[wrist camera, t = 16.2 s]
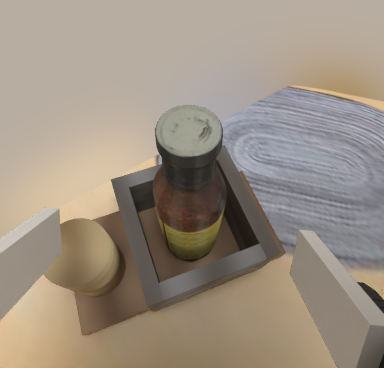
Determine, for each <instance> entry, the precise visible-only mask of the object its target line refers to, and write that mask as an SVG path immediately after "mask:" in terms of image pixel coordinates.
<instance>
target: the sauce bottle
mask: <svg viewBox="0 0 384 368" xmlns="http://www.w3.org/2000/svg"><path fill="white" fill-rule="evenodd" d="M155 136H156V145H157V149H158V152H159V154H160V155H161V157H162V164H163V165H162V166H161V167H160V169H159V170H158V171H157V172H156V175H155V177H154V180H153V183H152V184H153V195H154V200H155V209H156V213H157V216H158V220H159V223H160V227H161V231H162V234H163V238H164V241H165V244H166V246H167V248H169V251H170V252H171V253H172V254H173V255H174V256H175V257H177V258H179V259H182V260H185V261H195V260H198V259H201V258H203V257H205V256H206V255H208V254H209V252H210V251H211V250H212V248H213V247H214V245H215V243H216V240H217V236H218V232H219V228H220V224H221V220H222V216H223V212H224V208H225V203H226V197H227V191H226V185H225V182H224V179H223V177H222V175H221V173H220V171H219V168H218V166H217V162H216V160H217V156H218V155H219V153H220V151H221V148H222V138H223V128H222V125H221V123H220V120H219V119H218V118H217V116H216V115H215V114H214V113H213V112H211V111H210V110H208V109H206V108H203V107H199V106H195V105H183V106H177V107H175V108H172V109H170V110H168V111H167V112H166V113H164V114H163V115H162V116H161V118H160V119H159V121H158V122H157V125H156V128H155Z"/></svg>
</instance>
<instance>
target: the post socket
mask: <svg viewBox="0 0 384 368" xmlns="http://www.w3.org/2000/svg"><path fill="white" fill-rule="evenodd" d="M216 162H217V166H218V168H219V171H220V173H221V175H222V177H223V179H224V182H225V185H226V191H227V197H226V203H225V208H224V212H223V216H222V220H221V224H220V228H219V232H218V236H217V240H216V243H215V245H214V247H213V248H212V250H211V251H210V252H209V254H208V255H206V256H205V257H203V258H201V259H198V260H195V261H185V260H182V259H179V258H177V257H175V256H174V255H173V254H172V253H171V252H170V251H169V248H167V246H166V244H165V241H164V238H163V234H162V231H161V227H160V223H159V220H158V216H157V213H156V209H155V200H154V195H153V184H152V183H153V180H154V177H155V175H156V172H157V171H158V170H159V169H160V167H161V166H162V165H163V164H161V165H158V166H154V167H151V168H148V169H144V170H141V171H138V172H135V173H131V174H128V175H125V176H121V177H118V178H115V179H111V182H112V185H113V189H114V192H115V196H116V199H117V203H118V206H119V210H120V211H118V212H115V213H112V214H109V215H106V216H103V217H100V218H97V219H94V220H89V219H83V218H81V219H72V220H69V221H66V222H64V223H62V224H60V229H61V244H62V254H61V255H60V256H59V257H58V258H57V259H56V260H55V261H54V262H53V264H52V265H51V266H50V267H49V268H48V269H47V270H46V271H45V272H44V273H43V274H44V275H45V277H46V278H47V279H48V280H49V281H51V282H52V283H54V284H56V285H59V286H62V287H64V288H67V289H70V290H73V291H74V292H75V297H76V303H77V309H78V314H79V320H80V325H81V331H82V335H89V334H92V333H94V332H97V331H99V330H102V329H104V328H106V327H109V326H111V325H114V324H116V323H119V322H121V321H124V320H126V319H129V318H131V317H133V316H136V315H138V314H141V313H143V312H146V311H148V310H153V311H157V310H159V309H162V308H164V307H167V306H169V305H171V304H174V303H176V302H179V301H181V300H184V299H186V298H188V297H191V296H193V295H196V294H198V293H201V292H203V291H206V290H208V289H210V288H213V287H215V286H218V285H220V284H223V283H225V282H228V281H230V280H232V279H235V278H237V277H240V276H242V275H245V274H247V273H250V272H252V271H254V270H257V269H259V268H262V267H263V266H264V265H266V264H267V263H268V262H270V261H271V260H274V259H276V258H278V257H281V256H282V255H283V254H285V253H286V252H285V251H284V249H283V247H282V245H281V243H280V241H279V239H278V237H277V236H276V234H275V232H274V230H273V228H272V226H271V224H270V223H269V221H268V219H267V217H266V215H265V213H264V211H263V209H262V208H261V206H260V204H259V202H258V200H257V198H256V196H255V194H254V193H253V191H252V189H251V187H250V185H249V183H248V181H247V179H246V178H245V176H244V174H243V172H242V171H240V172H238V170H237V168H236V166H235V164H234V162H233V161H232V159H231V157H230V155H229V153H228V151H227V149H226V147H225V145H224V146H222V148H221V151H220V153H219V155H218V156H217V160H216Z"/></svg>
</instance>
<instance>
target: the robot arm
mask: <svg viewBox="0 0 384 368" xmlns="http://www.w3.org/2000/svg"><path fill="white" fill-rule="evenodd" d="M61 254H62V244H61V229H60V214H59V209H56V208H44V209H42V210H41V211H40V212H38V213H37V214H35V215H34V216H32V217H31V218H29V219H28V220H26V221H25V222H23V223H22V224H21V225H19V226H18V227H16V228H15V229H13V230H12V231H10V232H9V233H8V234H6V235H4V236H3V237H2V238H0V320H1V319H2V318H3V317H4V316H5V315H6V314H7V313H8V312H9V311H10V309H11V308H12V307H13V306H14V305H15V304H16V303H17V302H18V301H19V300H20V299H21V297H22V296H23V295H24V294H25V293H26V292H27V291H28V290H29V289H30V288H31V287H32V285H33V284H34V283H35V282H36V281H37V280H38V279H39V278H40V277H41V276H42V275H43V273H44V272H45V271H46V270H47V269H48V268H49V267H50V266H51V265H52V264H53V262H54V261H55V260H56V259H57V258H58V257H59V256H60V255H61ZM290 275H291V277H292V279H293V281H294V283H295V285H296V287H297V289H298V291H299V293H300V294H301V296H302V298H303V300H304V302H305V304H306V306H307V308H308V310H309V312H310V314H311V316H312V318H313V320H314V322H315V324H316V326H317V328H318V330H319V332H320V334H321V336H322V338H323V340H324V342H325V344H326V346H327V348H328V350H329V352H330V354H331V356H332V358H333V360H334V362H335V364H336V366H337V367H338V368H384V300H383V299H382V298H381V296H380V295H379V294H378V293H377V292H376V291H375V290H373V289H372V288H371V287H369V286H368V285H366V284H365V283H360V282H356V281H355V280H354V278H353V277H352V276H351V275H350V274H349V272H348V271H347V270H346V269H345V268H344V267H343V265H342V264H341V263H340V262H339V261H338V260H337V258H336V257H335V256H334V255H333V254H332V252H331V251H330V250H329V249H328V248H327V247H326V245H325V244H324V243H323V242H322V241H321V240H320V238H319V237H318V236H317V235H316V234H315V232H314V231H308V230H299V233H298V237H297V242H296V247H295V251H294V256H293V261H292V265H291V270H290Z"/></svg>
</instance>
